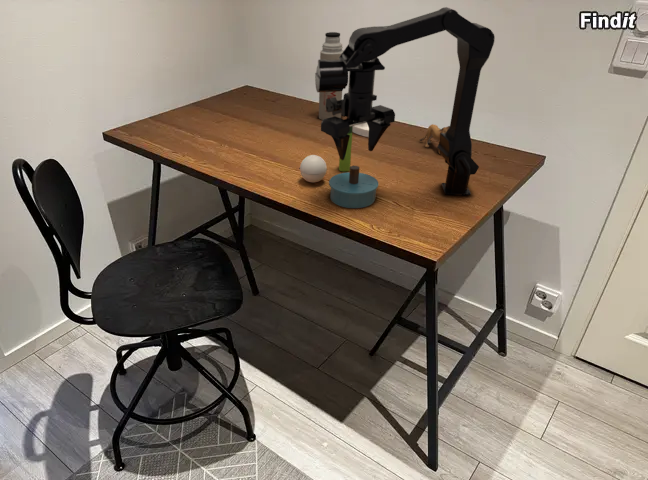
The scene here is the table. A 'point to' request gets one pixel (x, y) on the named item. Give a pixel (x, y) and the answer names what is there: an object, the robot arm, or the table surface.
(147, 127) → the table surface
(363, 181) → the tin lid
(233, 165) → the table surface
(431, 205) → the table surface
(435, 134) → the lion figurine
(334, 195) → the tin
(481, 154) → the table surface
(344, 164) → the glue stick
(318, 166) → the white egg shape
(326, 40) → the thermos bottle
